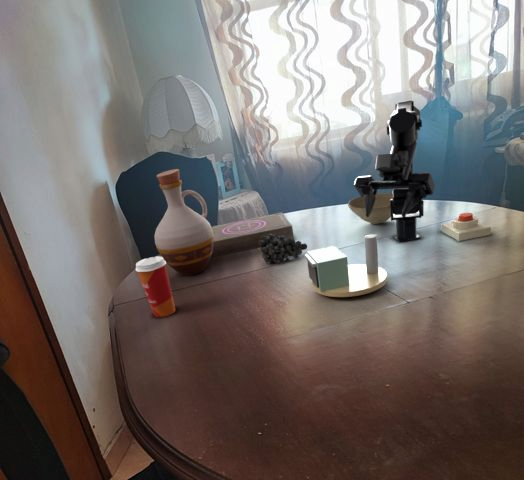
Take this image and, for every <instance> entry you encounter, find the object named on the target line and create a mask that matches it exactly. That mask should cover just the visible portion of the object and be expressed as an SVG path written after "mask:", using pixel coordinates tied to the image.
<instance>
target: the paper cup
mask: <svg viewBox="0 0 524 480" xmlns="http://www.w3.org/2000/svg"><path fill="white" fill-rule="evenodd" d="M135 272H137V274H138V277H139V279H140V282H141V285H142V288H143V291H144V293H145V296H146V298H147V300H148V304H149V306H150V309H151V310H152V313H153V315H154V317H156V318H165V317H168V316H170V315H172V314H174V313H175V312H176V306H175V302H174V301H175V300H174V297H173V296H174V295H173V291H172V288H171V283H170V278H169V273H168V269H167V263H166V261H165V260H164V259H163V257H162V256H161V255H157V256H151V257H148V258H143V259H141V260H138V261H137V262H136V263H135Z"/></svg>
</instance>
